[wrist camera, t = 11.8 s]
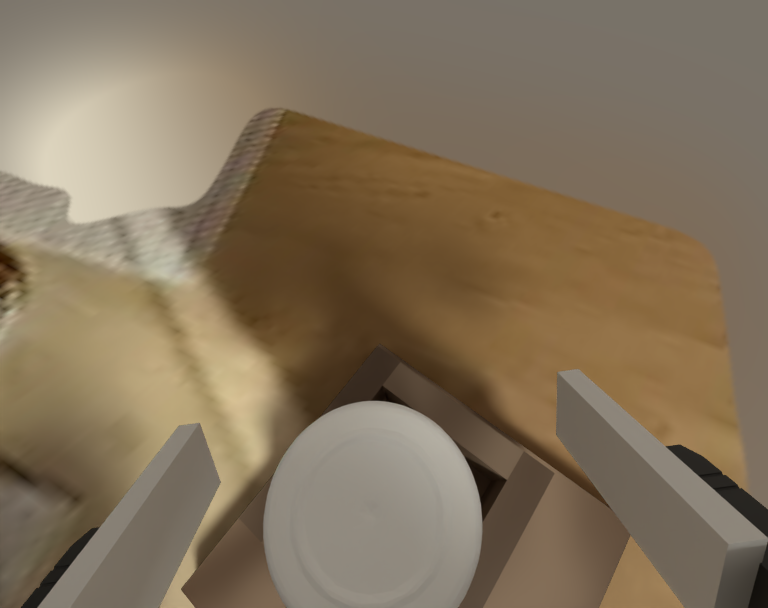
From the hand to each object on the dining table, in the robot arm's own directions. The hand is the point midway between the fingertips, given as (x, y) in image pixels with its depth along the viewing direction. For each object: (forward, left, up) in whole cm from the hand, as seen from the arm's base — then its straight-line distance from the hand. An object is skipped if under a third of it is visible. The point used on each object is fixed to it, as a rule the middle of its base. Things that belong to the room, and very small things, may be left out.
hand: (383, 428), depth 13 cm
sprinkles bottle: (+1, -2, -8) cm, 8 cm away
